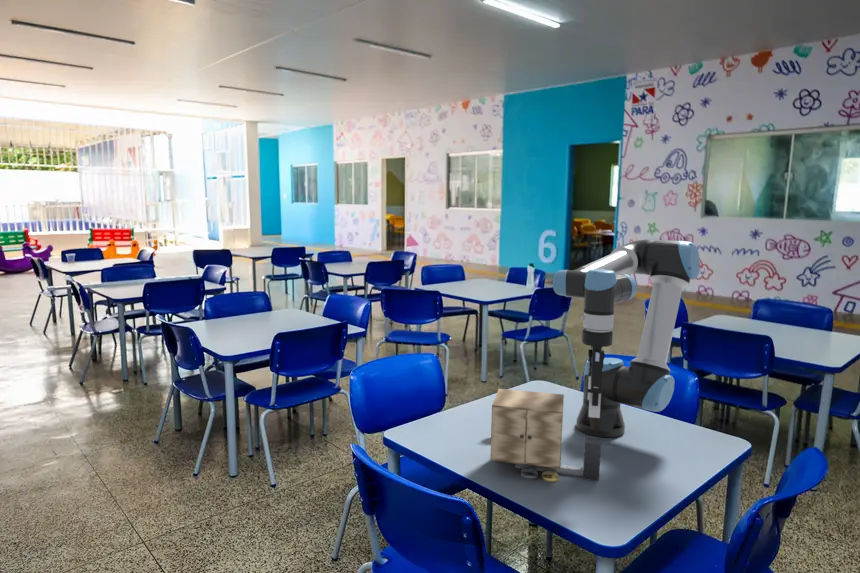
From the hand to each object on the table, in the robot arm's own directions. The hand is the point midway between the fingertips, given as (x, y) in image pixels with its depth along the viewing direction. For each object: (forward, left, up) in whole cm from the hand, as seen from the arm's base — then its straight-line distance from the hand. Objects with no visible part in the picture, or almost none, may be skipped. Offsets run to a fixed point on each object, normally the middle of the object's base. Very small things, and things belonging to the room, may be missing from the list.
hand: (593, 408), depth 148 cm
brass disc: (+10, +4, -19) cm, 22 cm away
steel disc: (+16, +4, -19) cm, 25 cm away
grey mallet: (+9, 0, -19) cm, 21 cm away
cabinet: (+17, +1, -19) cm, 25 cm away
